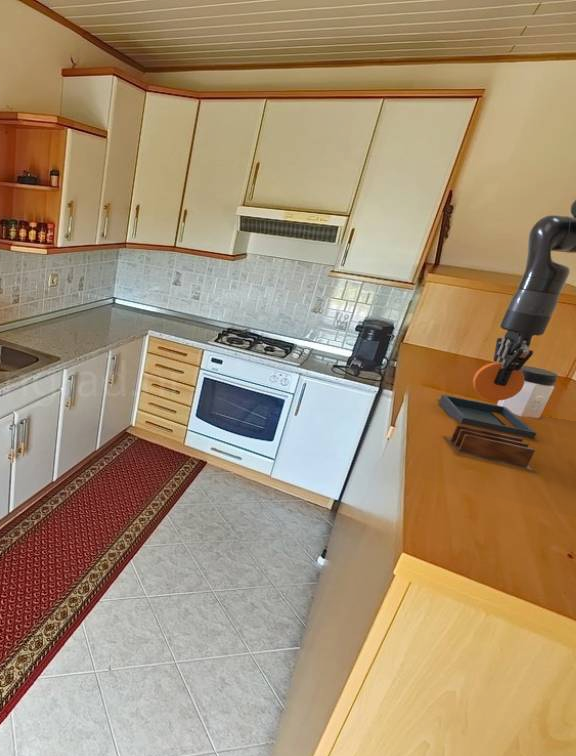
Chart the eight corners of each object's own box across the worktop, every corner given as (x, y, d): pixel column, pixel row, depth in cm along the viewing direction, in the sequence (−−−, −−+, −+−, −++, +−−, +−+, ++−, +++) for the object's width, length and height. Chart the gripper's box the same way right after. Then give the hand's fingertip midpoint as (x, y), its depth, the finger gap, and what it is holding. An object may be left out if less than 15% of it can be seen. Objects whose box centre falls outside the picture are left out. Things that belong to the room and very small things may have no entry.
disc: (512, 402, 115) (528, 366, 112) (514, 404, 114) (531, 368, 110) (466, 393, 118) (481, 358, 115) (468, 395, 117) (483, 359, 114)
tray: (501, 416, 123) (505, 406, 122) (531, 443, 108) (536, 433, 107) (438, 403, 128) (442, 394, 127) (458, 427, 113) (463, 417, 112)
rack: (512, 456, 100) (522, 436, 99) (531, 476, 92) (542, 454, 91) (443, 440, 104) (451, 421, 103) (456, 458, 97) (465, 437, 95)
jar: (511, 418, 122) (532, 373, 118) (486, 406, 130) (505, 363, 126) (547, 422, 122) (569, 377, 118) (520, 409, 130) (540, 367, 126)
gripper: (566, 319, 101) (529, 396, 107) (536, 309, 113) (505, 379, 119) (521, 312, 104) (488, 388, 110) (497, 303, 116) (469, 372, 122)
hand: (497, 383), depth 114 cm, fingers closed on disc, 1 cm apart
